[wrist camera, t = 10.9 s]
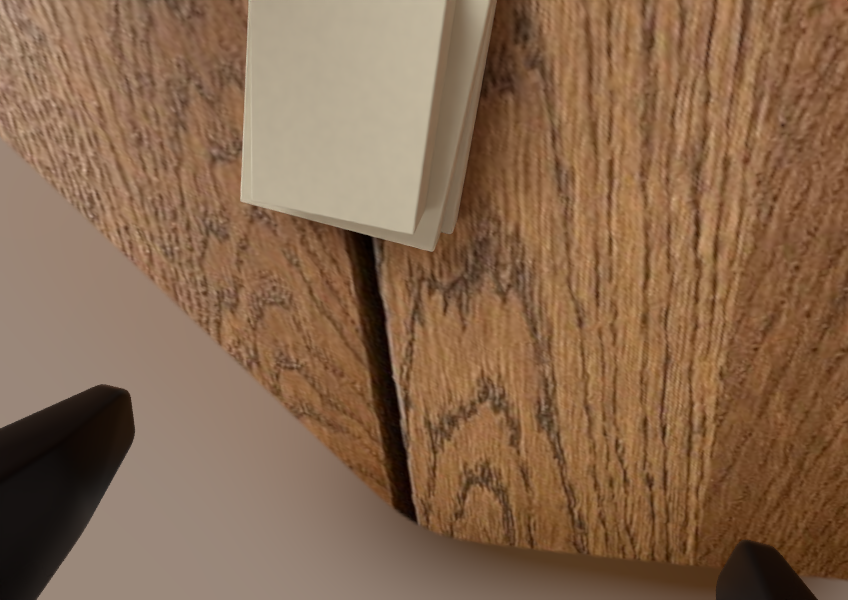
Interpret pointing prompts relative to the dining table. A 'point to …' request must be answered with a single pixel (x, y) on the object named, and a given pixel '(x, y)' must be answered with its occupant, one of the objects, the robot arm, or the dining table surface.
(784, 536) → the dining table surface
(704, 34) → the dining table surface
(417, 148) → the cream book
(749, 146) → the dining table surface
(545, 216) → the dining table surface
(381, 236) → the cream books
